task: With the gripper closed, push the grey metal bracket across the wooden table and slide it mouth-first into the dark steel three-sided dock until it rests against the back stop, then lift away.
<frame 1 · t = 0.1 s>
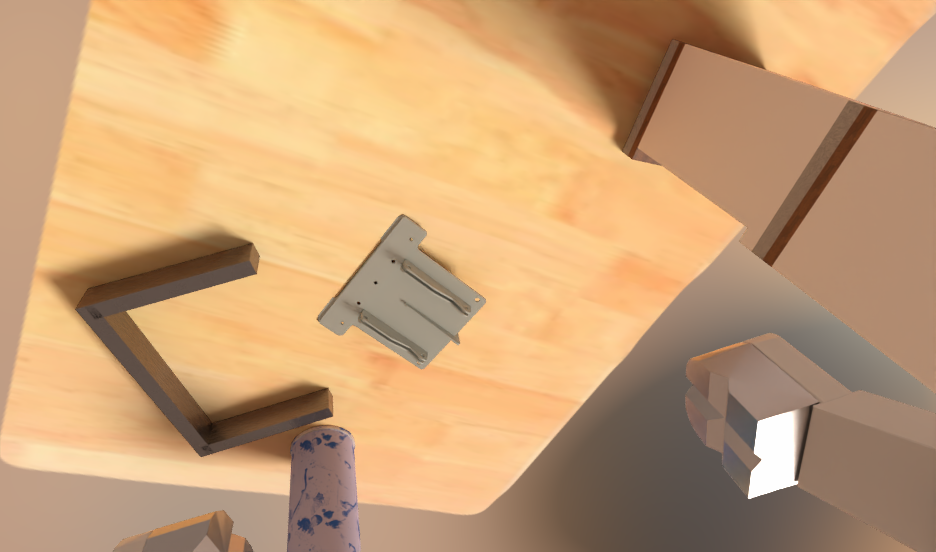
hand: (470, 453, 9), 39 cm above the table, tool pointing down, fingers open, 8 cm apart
display case: (692, 110, 51), on the table
aerosol can: (323, 445, 65), on the table
metal bracket: (406, 291, 56), on the table
steel dock: (231, 348, 54), on the table
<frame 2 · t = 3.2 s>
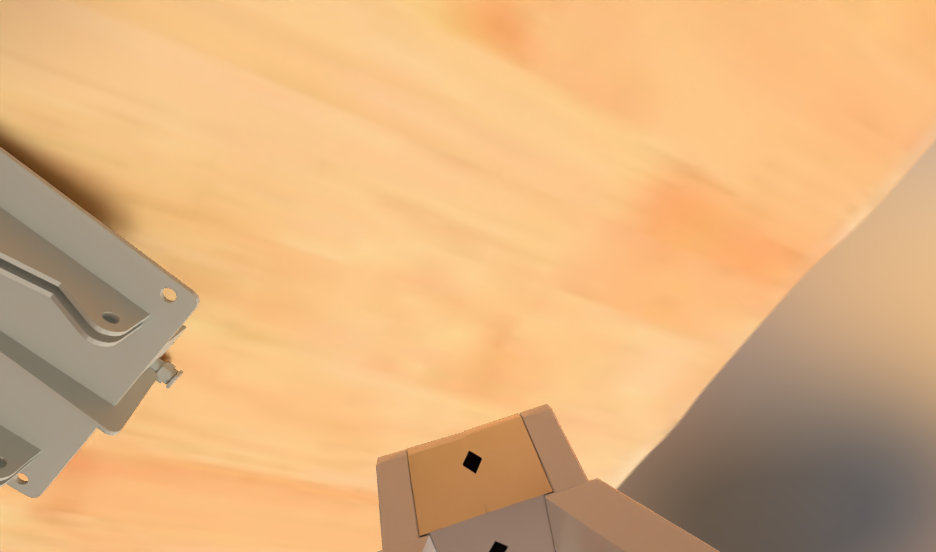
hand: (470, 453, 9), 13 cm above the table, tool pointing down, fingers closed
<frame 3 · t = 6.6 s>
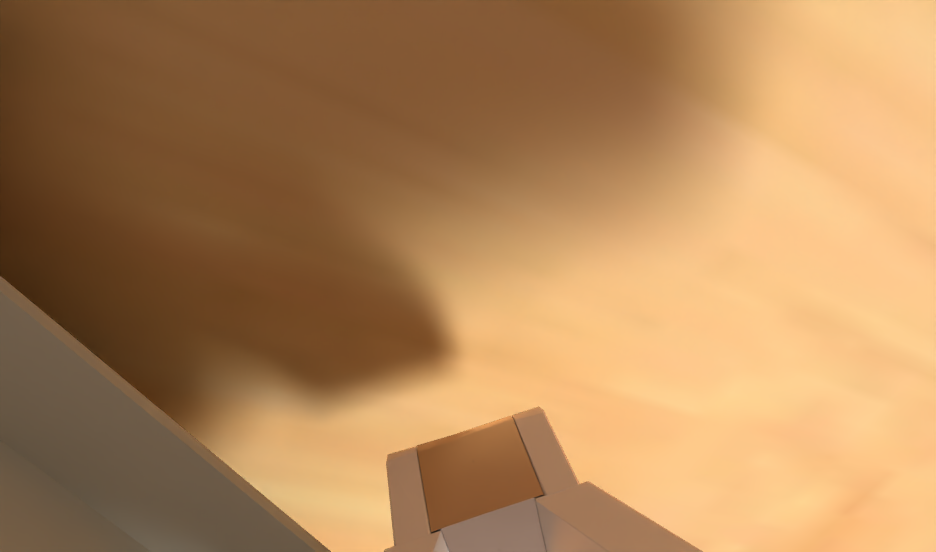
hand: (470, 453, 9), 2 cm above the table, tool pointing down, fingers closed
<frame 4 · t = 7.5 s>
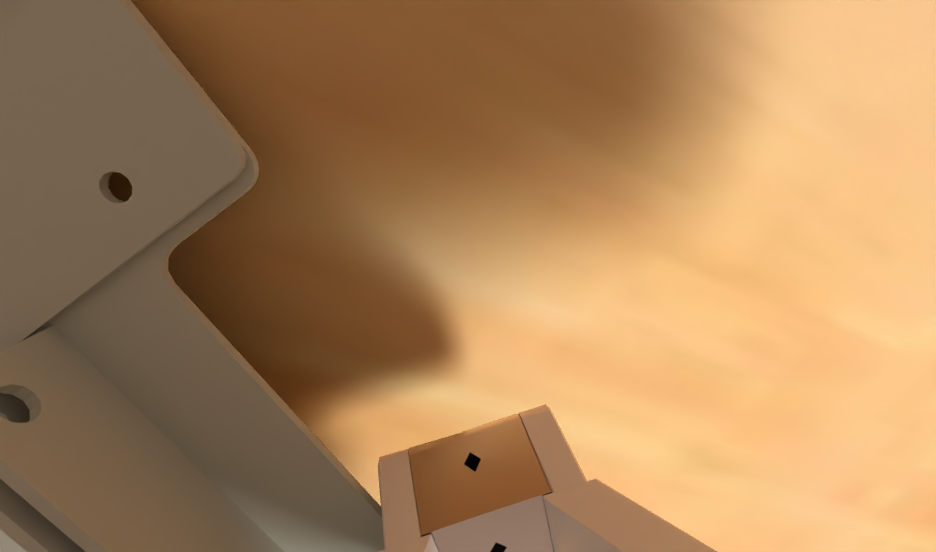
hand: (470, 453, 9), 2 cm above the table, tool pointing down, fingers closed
metal bracket: (107, 500, 10), on the table, touching gripper
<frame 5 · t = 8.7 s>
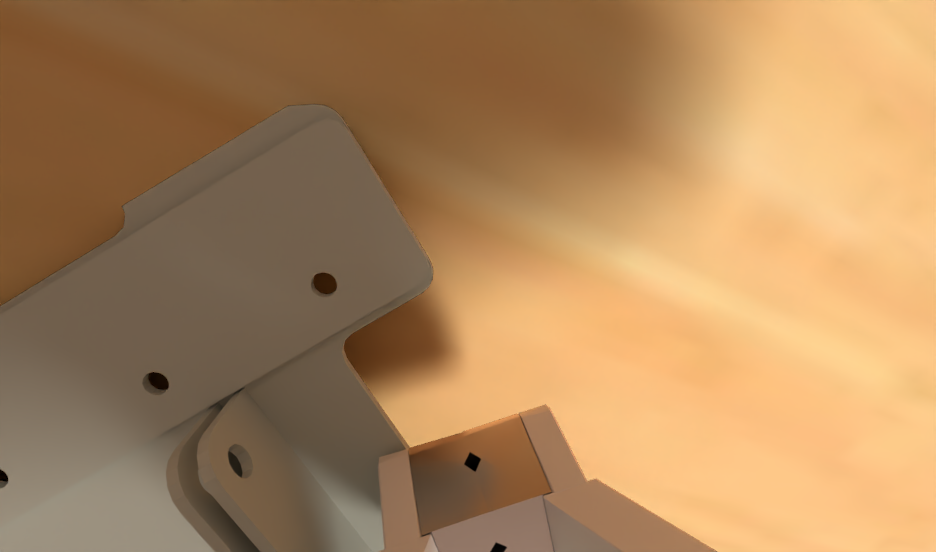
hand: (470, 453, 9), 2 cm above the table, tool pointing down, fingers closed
metal bracket: (210, 524, 11), on the table, touching gripper
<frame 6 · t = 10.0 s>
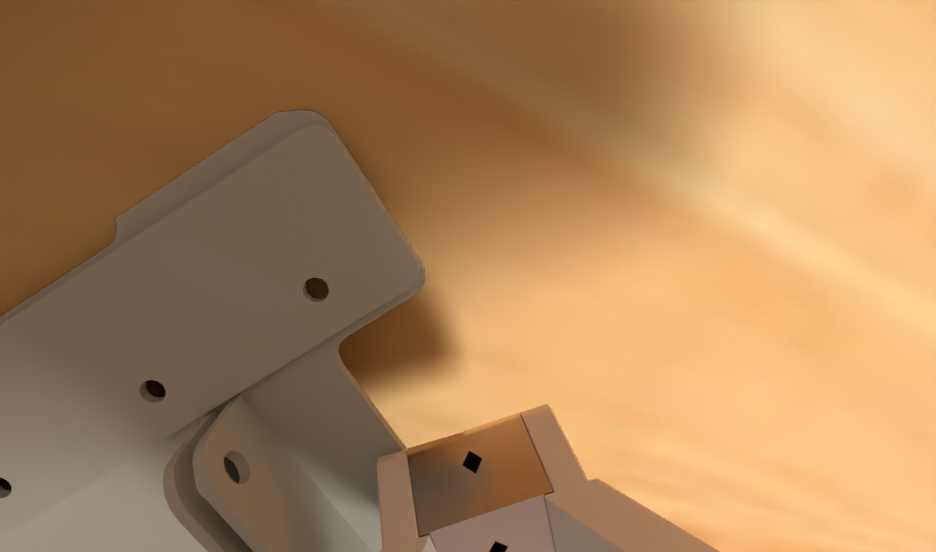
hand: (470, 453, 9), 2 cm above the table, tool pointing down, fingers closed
metal bracket: (215, 527, 12), on the table
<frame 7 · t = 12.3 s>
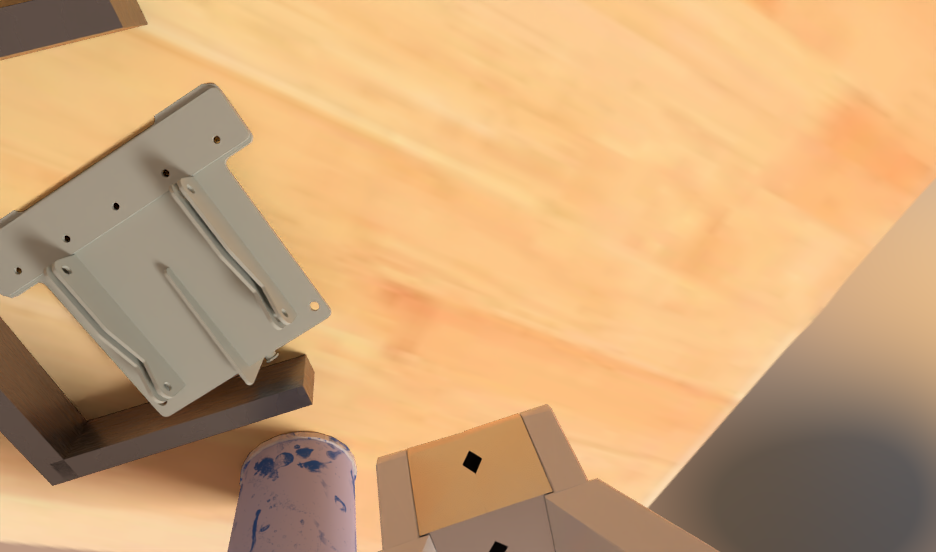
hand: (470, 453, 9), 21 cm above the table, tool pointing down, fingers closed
aerosol can: (300, 471, 37), on the table
metal bracket: (188, 257, 28), on the table
steel dock: (108, 255, 27), on the table
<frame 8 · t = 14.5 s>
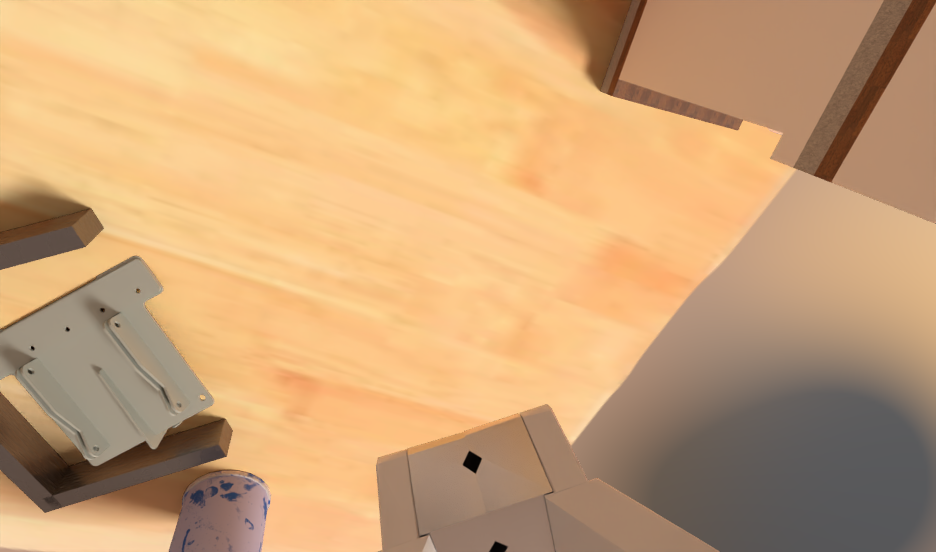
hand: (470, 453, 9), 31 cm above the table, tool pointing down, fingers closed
display case: (691, 35, 38), on the table
aerosol can: (228, 497, 50), on the table
metal bracket: (119, 355, 41), on the table
steel dock: (81, 361, 40), on the table
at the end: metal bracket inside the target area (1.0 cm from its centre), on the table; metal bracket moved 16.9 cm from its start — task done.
